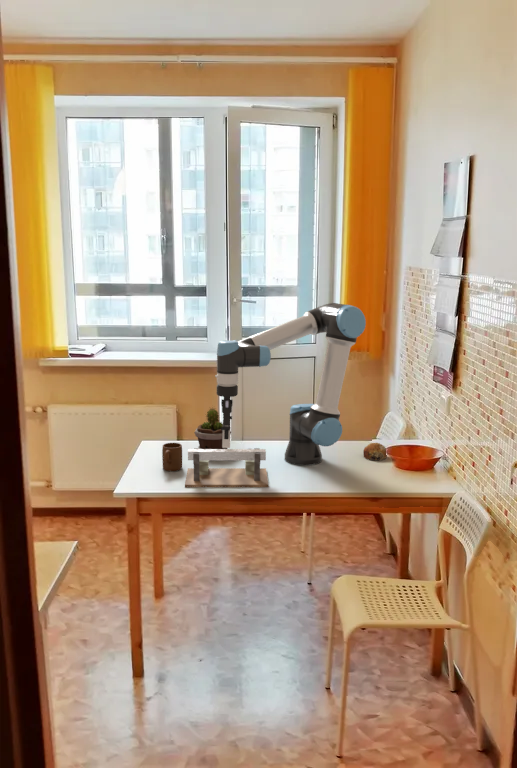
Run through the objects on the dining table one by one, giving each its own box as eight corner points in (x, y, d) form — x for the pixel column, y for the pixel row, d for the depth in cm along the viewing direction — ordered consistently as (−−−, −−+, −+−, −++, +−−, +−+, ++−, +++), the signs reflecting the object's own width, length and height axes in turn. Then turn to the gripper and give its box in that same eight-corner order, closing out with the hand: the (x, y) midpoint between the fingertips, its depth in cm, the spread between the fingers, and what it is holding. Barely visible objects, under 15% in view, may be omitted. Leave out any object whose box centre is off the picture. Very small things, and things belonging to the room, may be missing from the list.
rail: (265, 457, 242) (265, 449, 242) (265, 460, 239) (265, 451, 239) (188, 457, 241) (188, 449, 241) (188, 460, 238) (187, 451, 237)
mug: (175, 476, 248) (175, 452, 246) (156, 474, 249) (155, 450, 247) (184, 466, 260) (184, 443, 258) (166, 464, 261) (165, 441, 259)
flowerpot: (230, 459, 269) (230, 411, 265) (192, 458, 269) (192, 411, 265) (232, 449, 283) (232, 403, 279) (196, 448, 283) (196, 402, 279)
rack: (265, 470, 255) (266, 440, 253) (268, 487, 238) (269, 455, 235) (187, 470, 254) (187, 440, 252) (184, 487, 236) (184, 455, 234)
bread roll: (388, 465, 276) (392, 447, 277) (380, 461, 267) (384, 442, 268) (366, 461, 281) (370, 443, 282) (358, 457, 272) (362, 438, 274)
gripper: (217, 377, 247) (216, 432, 251) (216, 391, 222) (215, 452, 226) (237, 378, 247) (236, 433, 251) (238, 391, 223) (237, 452, 227)
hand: (226, 442), depth 239 cm, fingers open, 13 cm apart
